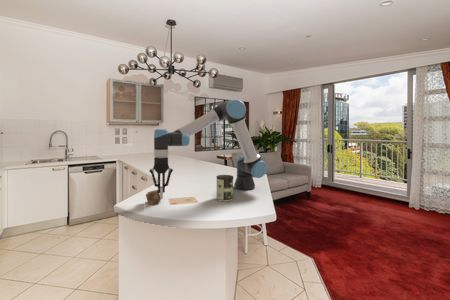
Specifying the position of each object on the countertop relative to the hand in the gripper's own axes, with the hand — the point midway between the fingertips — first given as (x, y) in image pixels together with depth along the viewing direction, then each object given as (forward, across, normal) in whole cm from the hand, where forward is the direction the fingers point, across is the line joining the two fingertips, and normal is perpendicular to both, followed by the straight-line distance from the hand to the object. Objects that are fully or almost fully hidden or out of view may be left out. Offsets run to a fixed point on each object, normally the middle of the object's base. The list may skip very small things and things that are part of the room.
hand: (161, 198), depth 133 cm
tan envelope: (+3, -12, 0) cm, 13 cm away
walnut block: (+2, +4, -1) cm, 4 cm away
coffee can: (+3, -37, +2) cm, 37 cm away
